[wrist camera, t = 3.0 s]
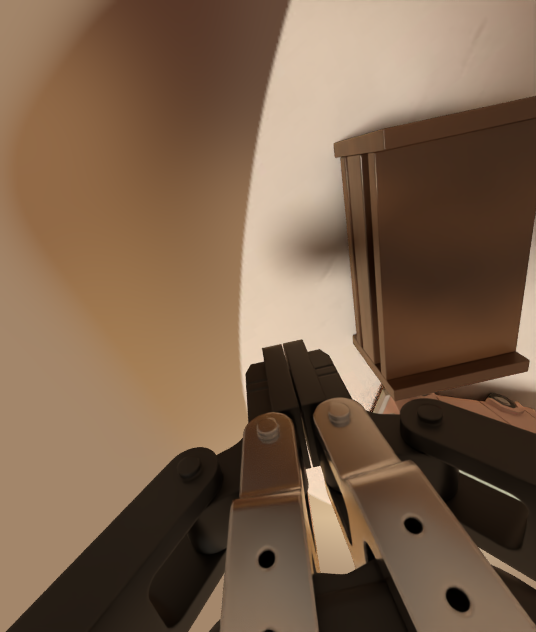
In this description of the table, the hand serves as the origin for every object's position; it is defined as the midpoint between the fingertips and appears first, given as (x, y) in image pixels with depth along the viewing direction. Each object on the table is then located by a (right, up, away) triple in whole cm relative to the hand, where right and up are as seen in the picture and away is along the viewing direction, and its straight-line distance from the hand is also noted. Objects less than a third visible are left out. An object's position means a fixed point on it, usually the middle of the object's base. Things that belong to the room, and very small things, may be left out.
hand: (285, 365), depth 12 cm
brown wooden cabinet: (+8, +7, +10) cm, 15 cm away
